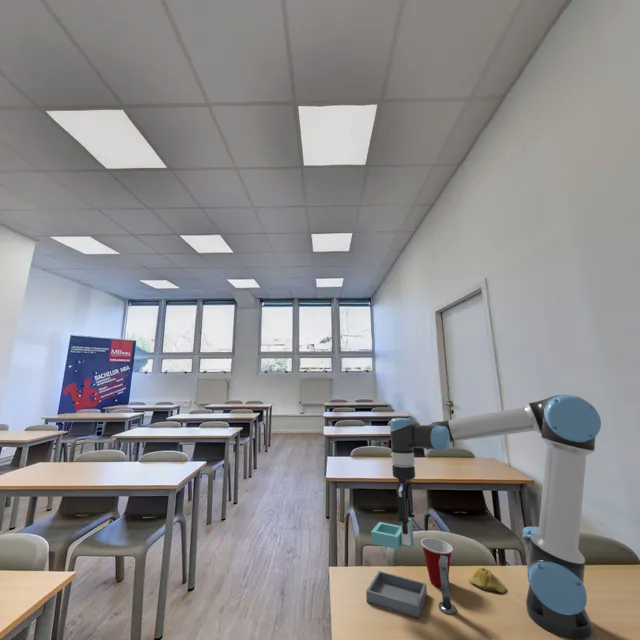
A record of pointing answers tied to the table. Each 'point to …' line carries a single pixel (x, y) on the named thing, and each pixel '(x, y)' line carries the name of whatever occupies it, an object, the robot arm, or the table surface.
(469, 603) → the table surface
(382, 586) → the tray
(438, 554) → the plastic cup
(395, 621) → the table surface
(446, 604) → the t stake
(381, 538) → the tabbed collar
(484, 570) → the fossil
